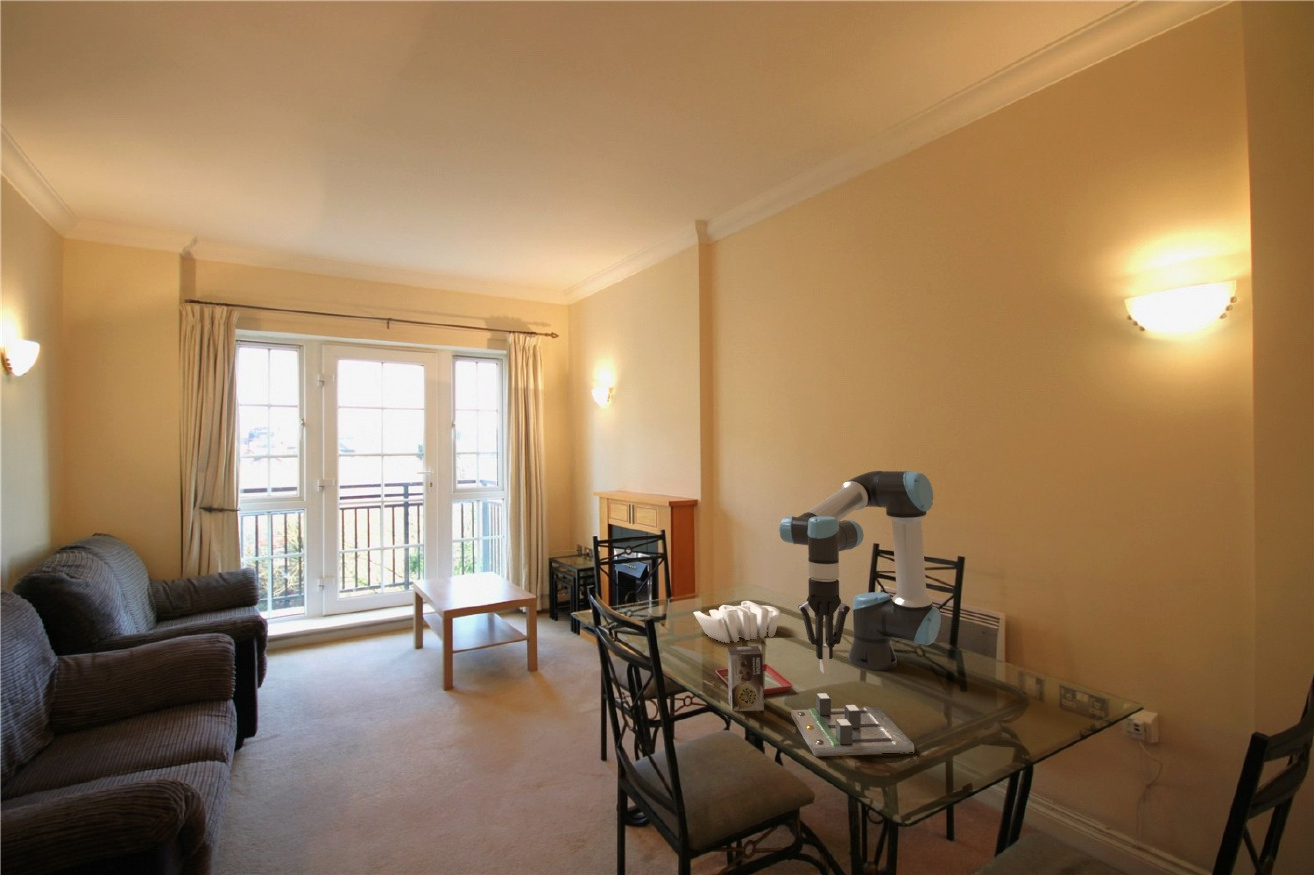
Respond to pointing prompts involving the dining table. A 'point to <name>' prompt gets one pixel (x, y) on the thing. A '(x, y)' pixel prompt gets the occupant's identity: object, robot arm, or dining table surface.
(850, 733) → the block
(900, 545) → the robot arm
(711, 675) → the dining table surface
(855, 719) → the block
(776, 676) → the plant saucer
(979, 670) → the dining table surface
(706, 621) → the wavy white extrusion
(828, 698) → the breaker
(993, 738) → the dining table surface
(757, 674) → the coffee box
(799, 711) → the slider switch panel
